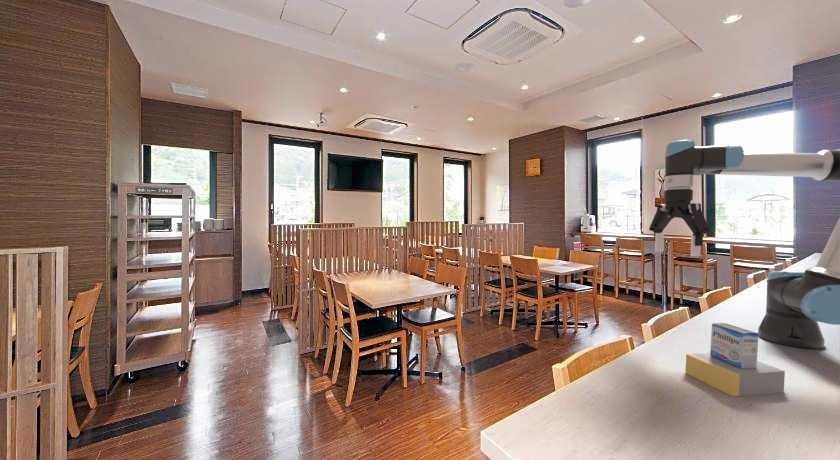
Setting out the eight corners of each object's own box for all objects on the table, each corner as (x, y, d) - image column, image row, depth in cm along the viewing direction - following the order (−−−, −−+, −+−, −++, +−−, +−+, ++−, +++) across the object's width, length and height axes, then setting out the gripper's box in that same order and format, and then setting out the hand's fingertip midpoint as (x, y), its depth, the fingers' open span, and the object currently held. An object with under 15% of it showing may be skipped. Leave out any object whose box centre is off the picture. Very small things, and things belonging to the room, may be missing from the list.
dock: (731, 369, 94) (731, 351, 93) (783, 392, 82) (784, 371, 82) (685, 372, 92) (686, 354, 91) (732, 396, 80) (733, 375, 79)
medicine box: (709, 356, 90) (710, 323, 90) (724, 355, 91) (725, 322, 90) (741, 369, 82) (743, 333, 82) (757, 368, 83) (759, 332, 83)
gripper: (638, 191, 126) (637, 250, 126) (705, 185, 101) (702, 258, 102) (657, 191, 127) (655, 249, 128) (727, 186, 102) (724, 258, 103)
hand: (676, 253), depth 115 cm, fingers open, 13 cm apart
